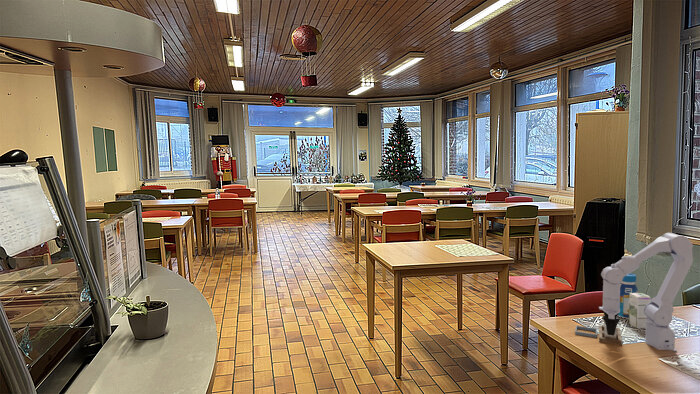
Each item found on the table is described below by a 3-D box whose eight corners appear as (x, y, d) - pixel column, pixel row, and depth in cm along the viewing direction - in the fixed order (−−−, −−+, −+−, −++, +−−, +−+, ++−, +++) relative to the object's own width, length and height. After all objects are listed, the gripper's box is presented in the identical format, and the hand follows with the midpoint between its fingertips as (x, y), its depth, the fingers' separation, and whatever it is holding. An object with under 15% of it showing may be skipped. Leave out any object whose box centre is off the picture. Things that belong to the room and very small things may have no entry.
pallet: (598, 330, 183) (598, 325, 183) (619, 333, 179) (619, 328, 179) (599, 343, 169) (599, 338, 169) (621, 347, 165) (621, 341, 165)
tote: (575, 330, 183) (576, 325, 183) (596, 333, 180) (597, 328, 179) (575, 336, 177) (575, 331, 177) (597, 339, 173) (597, 334, 173)
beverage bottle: (619, 312, 206) (620, 271, 205) (639, 317, 199) (641, 274, 198) (612, 316, 200) (613, 274, 199) (633, 321, 194) (634, 277, 193)
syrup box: (650, 329, 183) (651, 296, 182) (636, 329, 183) (637, 296, 182) (641, 325, 189) (642, 292, 188) (628, 325, 189) (628, 292, 188)
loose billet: (615, 339, 171) (616, 324, 171) (616, 342, 167) (616, 327, 167) (604, 337, 173) (604, 322, 173) (604, 340, 169) (604, 325, 169)
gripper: (599, 292, 178) (598, 324, 178) (599, 301, 165) (598, 335, 166) (619, 294, 174) (618, 327, 175) (621, 303, 161) (620, 339, 162)
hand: (610, 331), depth 170 cm, fingers open, 7 cm apart
